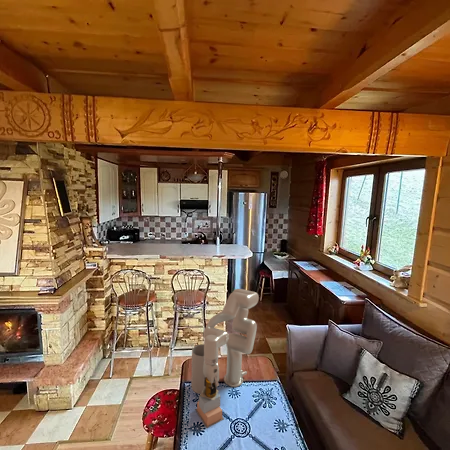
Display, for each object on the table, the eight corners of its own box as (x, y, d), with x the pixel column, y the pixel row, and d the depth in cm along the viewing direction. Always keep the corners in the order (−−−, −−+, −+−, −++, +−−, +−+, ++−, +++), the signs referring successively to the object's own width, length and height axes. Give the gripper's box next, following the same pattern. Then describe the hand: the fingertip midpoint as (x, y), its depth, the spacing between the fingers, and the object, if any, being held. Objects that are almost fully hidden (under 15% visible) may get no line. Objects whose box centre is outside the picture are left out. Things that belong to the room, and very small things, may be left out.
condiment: (214, 400, 141) (214, 379, 140) (199, 396, 144) (200, 375, 142) (219, 390, 148) (219, 370, 146) (204, 386, 151) (205, 367, 149)
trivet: (211, 402, 156) (211, 401, 156) (224, 420, 144) (224, 419, 144) (194, 410, 150) (194, 409, 150) (206, 429, 138) (206, 428, 138)
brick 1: (214, 398, 151) (215, 389, 151) (220, 406, 146) (220, 396, 146) (198, 405, 146) (199, 395, 145) (204, 413, 141) (204, 403, 140)
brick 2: (197, 409, 149) (197, 401, 149) (211, 403, 154) (211, 395, 154) (207, 426, 139) (207, 417, 139) (222, 418, 144) (222, 410, 144)
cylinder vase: (187, 391, 164) (188, 353, 161) (197, 377, 176) (197, 342, 172) (206, 397, 160) (207, 358, 156) (214, 383, 171) (215, 347, 168)
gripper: (225, 365, 137) (224, 397, 140) (209, 348, 152) (208, 377, 154) (212, 370, 133) (212, 403, 136) (197, 352, 148) (196, 382, 150)
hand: (210, 389), depth 145 cm, fingers closed on condiment, 6 cm apart
